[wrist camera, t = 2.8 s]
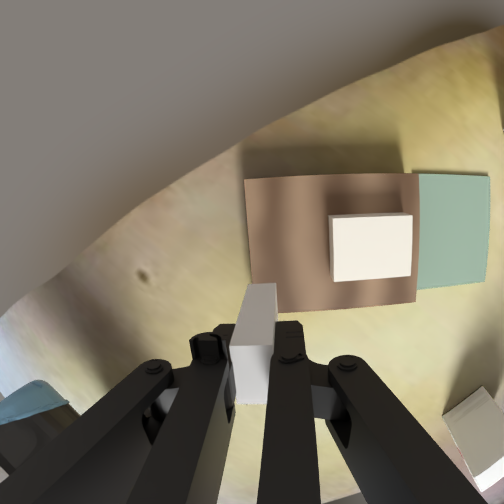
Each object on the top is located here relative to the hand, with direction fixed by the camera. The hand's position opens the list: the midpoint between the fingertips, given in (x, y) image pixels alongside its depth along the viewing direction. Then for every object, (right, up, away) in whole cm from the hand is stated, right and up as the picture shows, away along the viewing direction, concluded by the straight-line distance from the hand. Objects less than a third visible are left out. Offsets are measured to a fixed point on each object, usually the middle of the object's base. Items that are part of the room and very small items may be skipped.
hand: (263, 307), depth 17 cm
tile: (+11, +4, +13) cm, 18 cm away
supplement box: (+37, -25, +22) cm, 50 cm away
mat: (+24, +5, +16) cm, 30 cm away
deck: (+8, +5, +18) cm, 20 cm away
